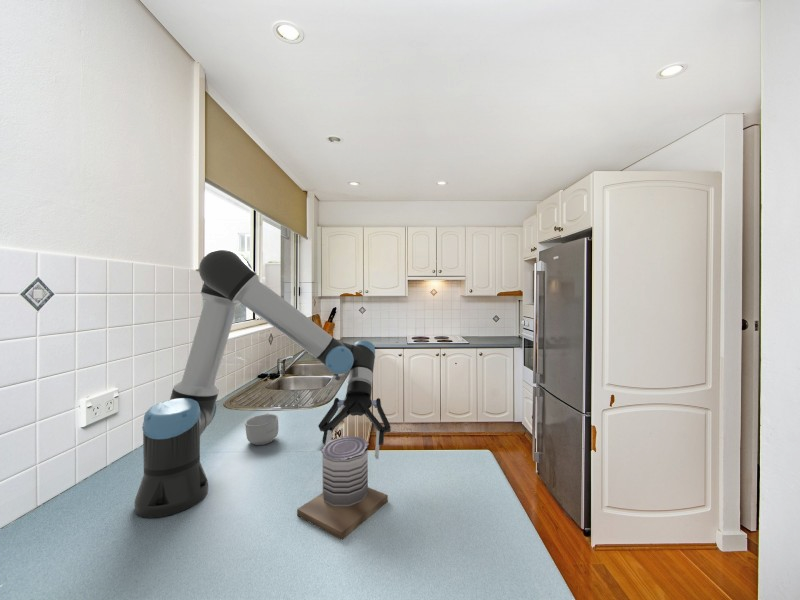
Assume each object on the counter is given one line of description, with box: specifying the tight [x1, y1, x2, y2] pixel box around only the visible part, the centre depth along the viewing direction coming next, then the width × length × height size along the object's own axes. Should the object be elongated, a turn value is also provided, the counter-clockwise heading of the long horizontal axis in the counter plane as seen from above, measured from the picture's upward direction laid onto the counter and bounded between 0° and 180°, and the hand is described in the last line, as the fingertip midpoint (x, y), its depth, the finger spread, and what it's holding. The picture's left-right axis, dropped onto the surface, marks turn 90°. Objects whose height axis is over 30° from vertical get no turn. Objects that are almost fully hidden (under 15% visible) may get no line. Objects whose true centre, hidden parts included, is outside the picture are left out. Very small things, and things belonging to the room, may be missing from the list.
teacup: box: [244, 412, 279, 446], centre depth 120 cm, size 14×11×8 cm
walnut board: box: [296, 486, 389, 540], centre depth 80 cm, size 16×14×2 cm
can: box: [319, 435, 370, 507], centre depth 84 cm, size 11×11×12 cm
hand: (351, 456), depth 90 cm, fingers open, 13 cm apart
